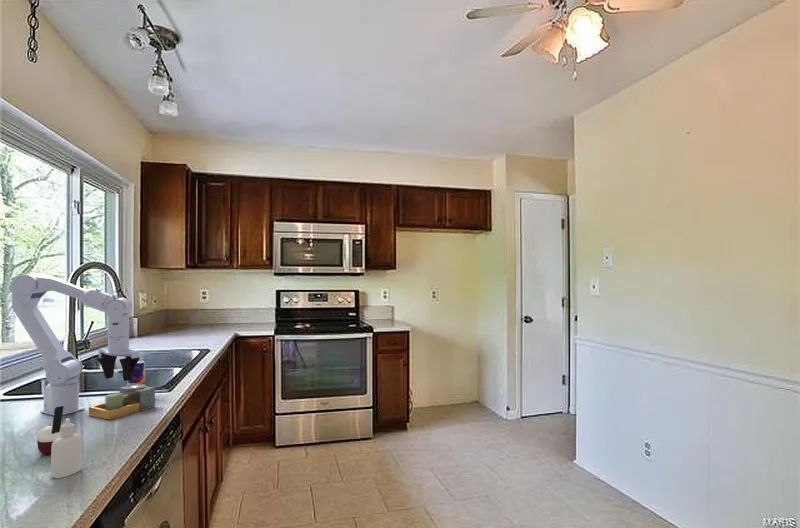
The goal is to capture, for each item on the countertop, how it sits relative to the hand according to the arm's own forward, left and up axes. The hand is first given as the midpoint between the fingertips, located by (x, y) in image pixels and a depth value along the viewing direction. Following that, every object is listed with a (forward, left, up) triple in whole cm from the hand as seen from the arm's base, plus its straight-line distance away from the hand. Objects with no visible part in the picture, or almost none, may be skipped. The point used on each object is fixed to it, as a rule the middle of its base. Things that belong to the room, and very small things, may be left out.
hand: (118, 379), depth 144 cm
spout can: (+3, -3, -9) cm, 10 cm away
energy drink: (-7, +11, -10) cm, 16 cm away
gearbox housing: (+3, -1, -9) cm, 10 cm away
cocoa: (+18, -28, -10) cm, 35 cm away
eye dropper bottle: (+33, -33, -10) cm, 48 cm away
